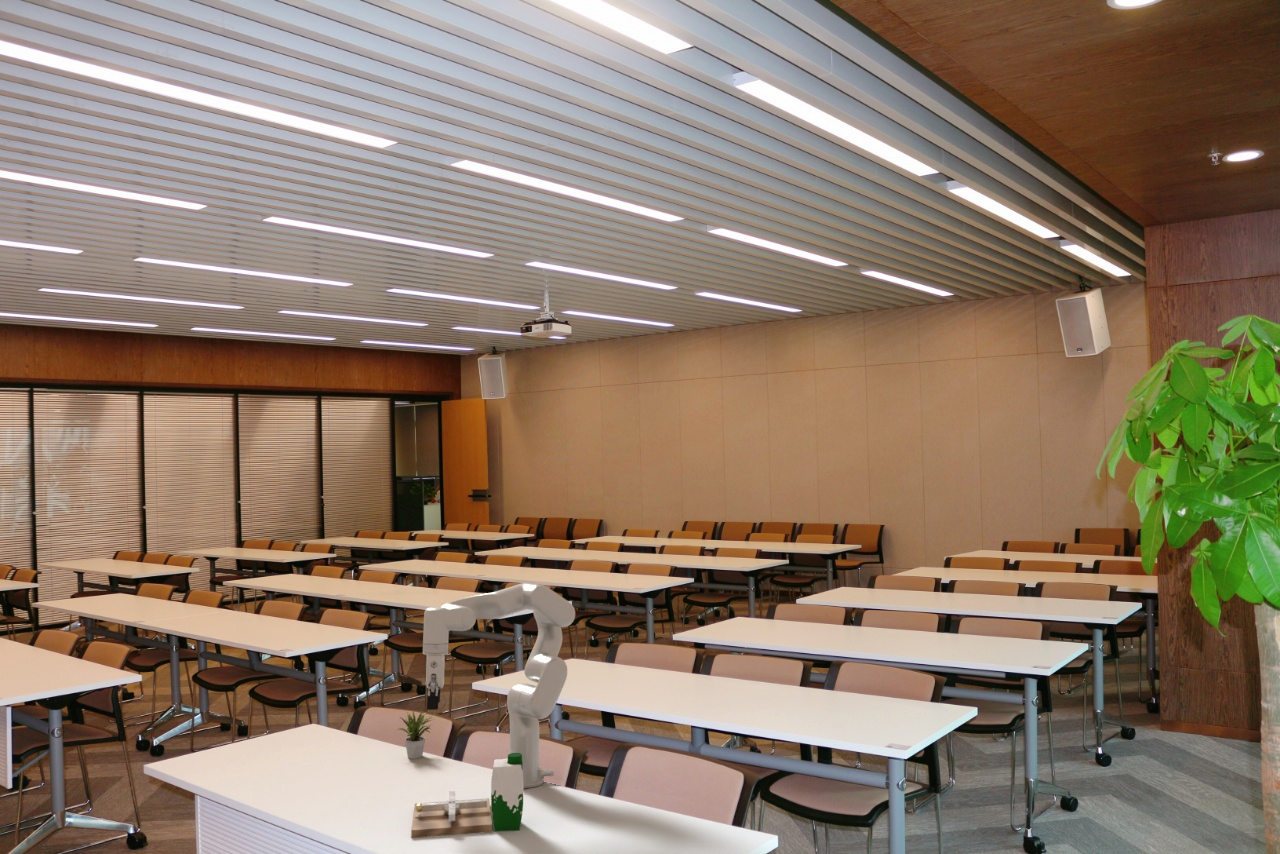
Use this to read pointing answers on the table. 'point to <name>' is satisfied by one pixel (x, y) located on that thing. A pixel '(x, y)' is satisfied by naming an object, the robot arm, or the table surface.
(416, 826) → the stand plate
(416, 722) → the house plant
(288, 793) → the table surface
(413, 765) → the table surface
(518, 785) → the milk carton
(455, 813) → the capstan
